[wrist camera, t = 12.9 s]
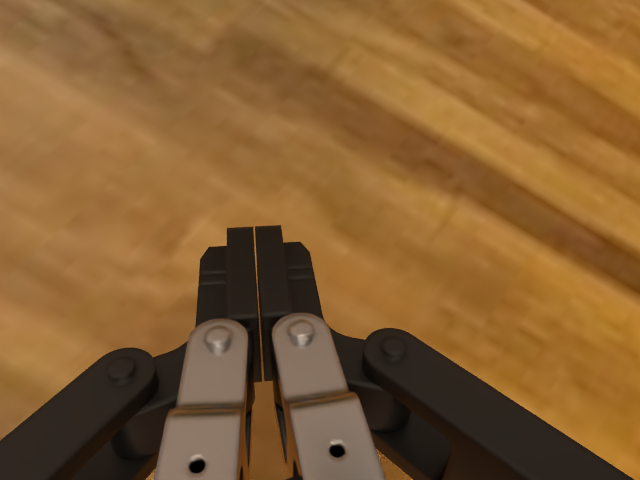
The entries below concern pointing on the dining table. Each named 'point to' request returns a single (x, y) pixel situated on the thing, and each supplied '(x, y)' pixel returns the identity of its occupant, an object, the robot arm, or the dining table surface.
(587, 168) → the dining table surface
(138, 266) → the dining table surface
